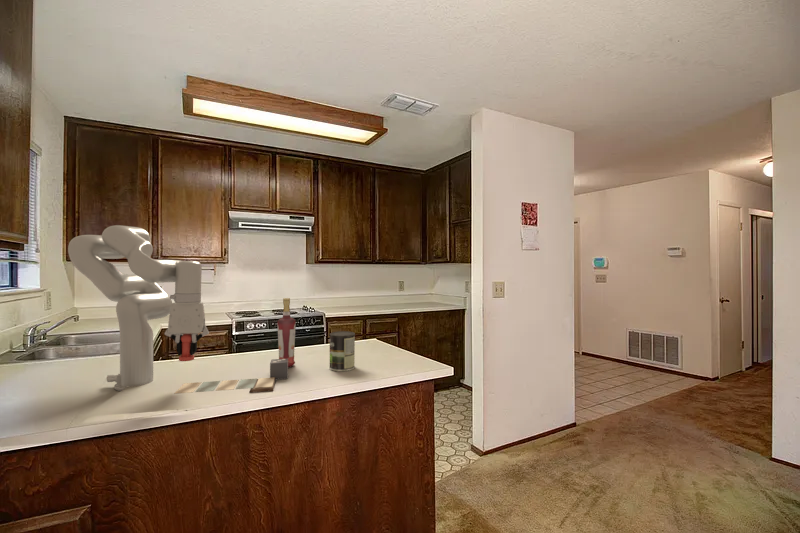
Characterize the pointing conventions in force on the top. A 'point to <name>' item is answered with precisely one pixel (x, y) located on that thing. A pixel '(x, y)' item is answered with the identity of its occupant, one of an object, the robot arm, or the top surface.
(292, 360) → the liquor
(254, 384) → the board
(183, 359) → the pawn
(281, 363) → the die
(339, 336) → the coffee can
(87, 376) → the top surface
